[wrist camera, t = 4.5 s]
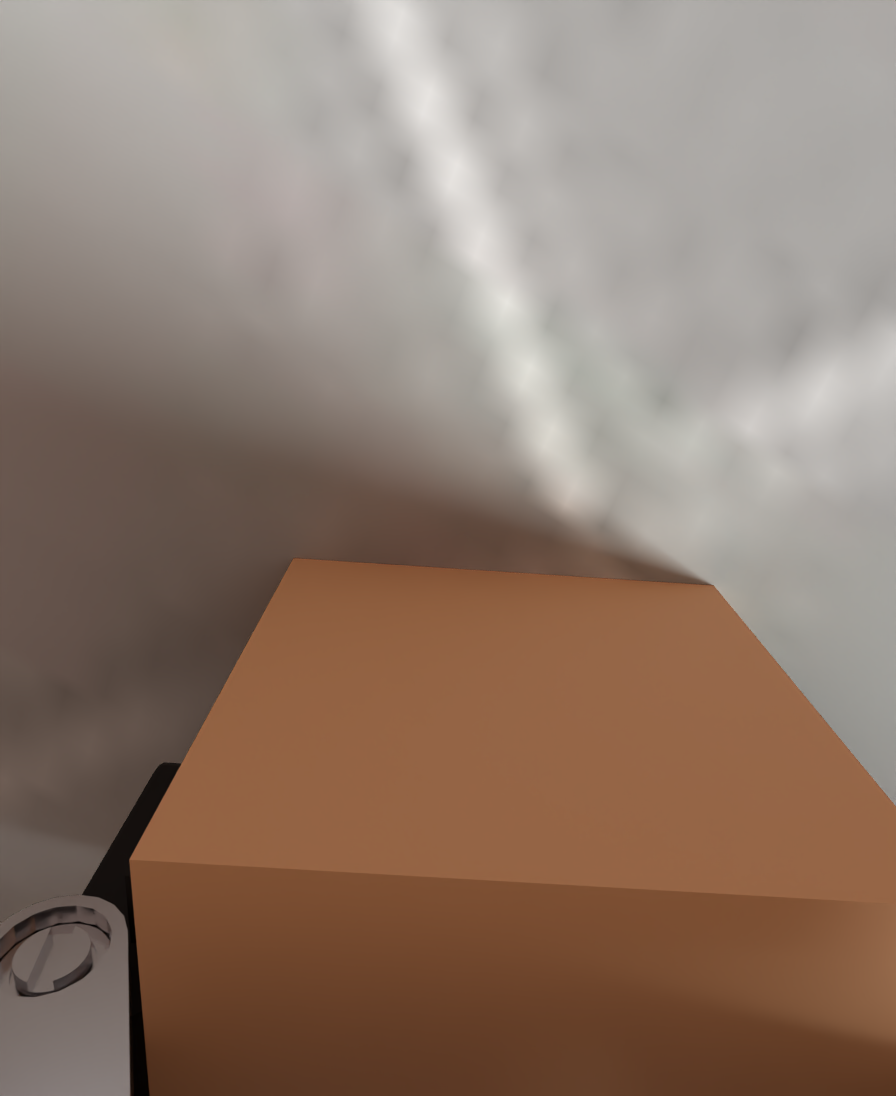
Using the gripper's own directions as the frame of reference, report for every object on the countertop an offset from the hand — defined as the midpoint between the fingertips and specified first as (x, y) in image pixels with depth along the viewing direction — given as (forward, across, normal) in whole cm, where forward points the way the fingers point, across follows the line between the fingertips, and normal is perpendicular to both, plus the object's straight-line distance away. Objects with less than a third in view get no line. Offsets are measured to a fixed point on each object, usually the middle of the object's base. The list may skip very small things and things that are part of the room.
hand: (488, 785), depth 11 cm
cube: (+1, 0, 0) cm, 1 cm away
